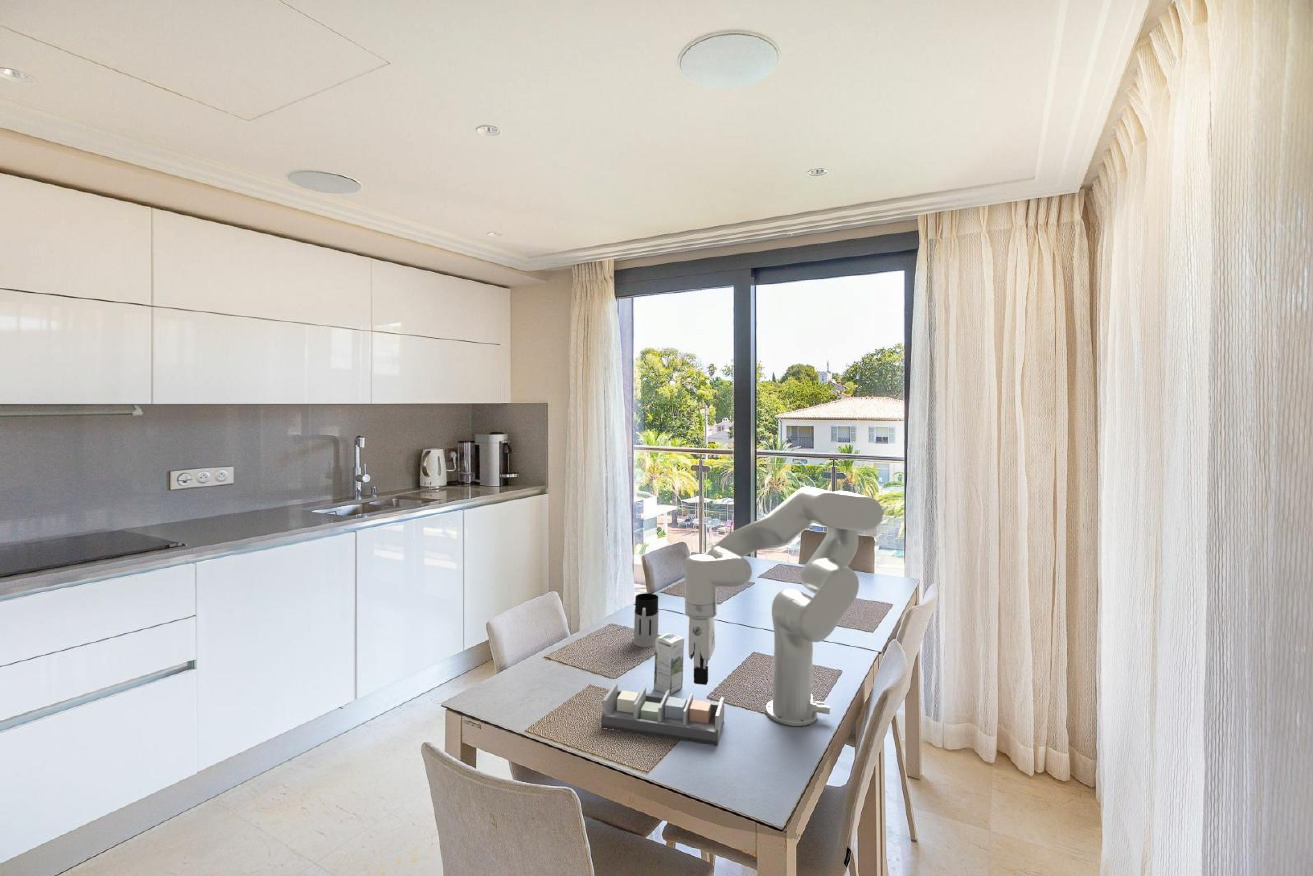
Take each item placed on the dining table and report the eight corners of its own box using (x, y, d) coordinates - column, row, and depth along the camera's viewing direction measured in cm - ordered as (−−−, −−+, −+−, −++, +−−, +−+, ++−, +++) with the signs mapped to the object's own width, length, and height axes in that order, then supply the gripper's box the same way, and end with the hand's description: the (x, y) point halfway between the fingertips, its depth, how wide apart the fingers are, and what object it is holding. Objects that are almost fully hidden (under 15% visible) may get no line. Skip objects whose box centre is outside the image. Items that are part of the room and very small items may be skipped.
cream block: (639, 704, 154) (639, 692, 154) (634, 713, 150) (634, 700, 150) (622, 702, 155) (622, 690, 155) (616, 710, 151) (617, 698, 151)
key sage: (662, 715, 153) (662, 703, 153) (658, 724, 149) (658, 712, 149) (645, 713, 154) (645, 701, 154) (640, 722, 150) (640, 709, 150)
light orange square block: (710, 714, 150) (711, 702, 150) (708, 723, 146) (708, 711, 146) (692, 711, 151) (693, 699, 151) (689, 720, 147) (689, 708, 147)
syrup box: (666, 682, 174) (667, 631, 173) (683, 688, 170) (684, 637, 170) (653, 689, 170) (654, 637, 169) (670, 696, 166) (671, 643, 165)
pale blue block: (686, 711, 152) (686, 699, 151) (682, 719, 147) (683, 707, 147) (668, 708, 153) (669, 696, 152) (664, 717, 148) (665, 705, 148)
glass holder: (660, 637, 207) (661, 593, 206) (656, 654, 193) (657, 607, 192) (634, 636, 208) (635, 592, 207) (628, 653, 194) (629, 605, 193)
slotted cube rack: (723, 722, 153) (724, 696, 153) (717, 745, 142) (718, 717, 142) (615, 706, 160) (615, 681, 159) (601, 728, 149) (601, 701, 148)
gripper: (711, 620, 139) (711, 699, 140) (721, 598, 154) (721, 671, 155) (678, 617, 141) (678, 695, 142) (691, 596, 155) (691, 668, 157)
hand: (700, 682), depth 148 cm, fingers closed
